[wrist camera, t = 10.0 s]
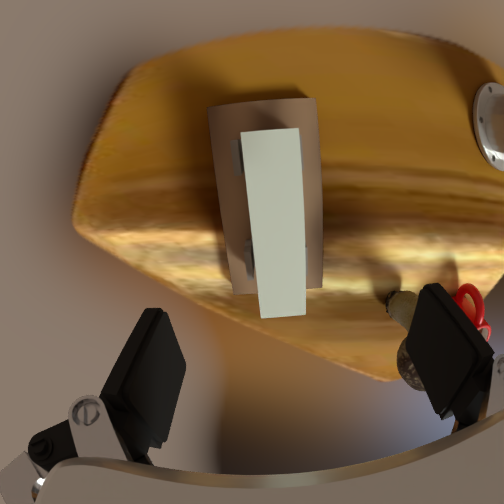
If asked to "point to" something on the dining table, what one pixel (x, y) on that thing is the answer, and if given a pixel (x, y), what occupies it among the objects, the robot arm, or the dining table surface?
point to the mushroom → (402, 312)
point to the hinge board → (234, 182)
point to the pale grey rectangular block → (276, 219)
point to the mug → (470, 311)
